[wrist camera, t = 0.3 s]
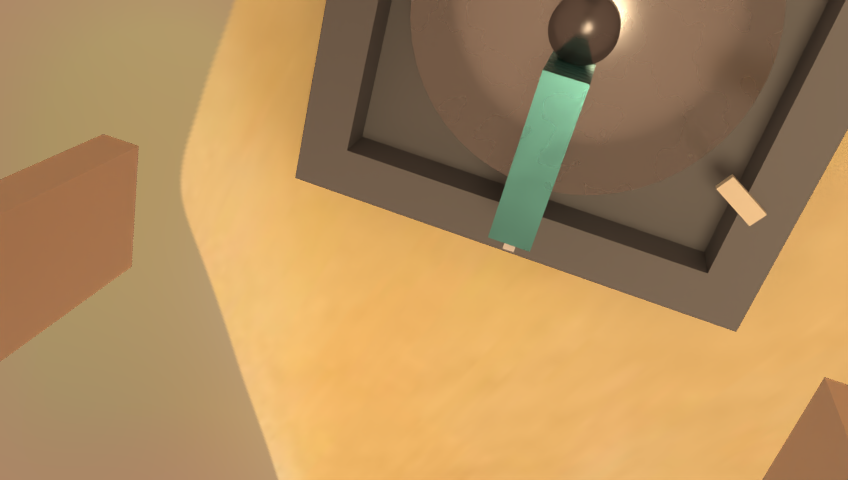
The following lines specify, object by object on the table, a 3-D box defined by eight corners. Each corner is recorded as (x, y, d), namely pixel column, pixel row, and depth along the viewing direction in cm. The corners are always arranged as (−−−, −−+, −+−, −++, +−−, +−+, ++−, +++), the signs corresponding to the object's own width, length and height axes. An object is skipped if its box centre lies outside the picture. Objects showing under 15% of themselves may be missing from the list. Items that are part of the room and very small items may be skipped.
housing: (415, -351, 32) (389, -378, 29) (997, -205, 29) (1042, -217, 26) (319, 157, 43) (292, 180, 40) (729, 298, 40) (737, 335, 37)
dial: (473, -223, 32) (438, -245, 27) (848, -122, 30) (892, -123, 25) (386, 146, 41) (346, 188, 35) (676, 244, 39) (680, 304, 33)
